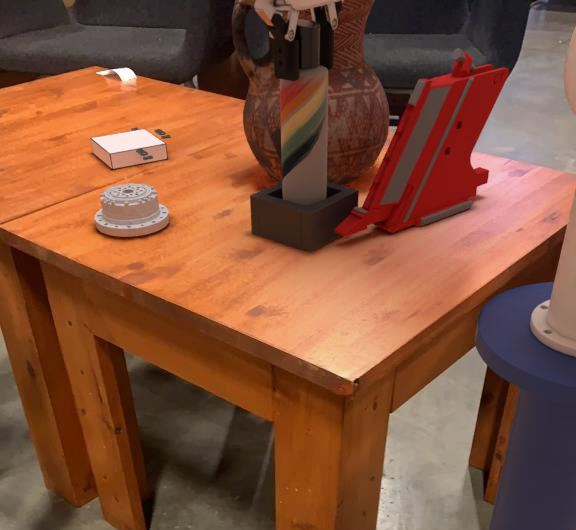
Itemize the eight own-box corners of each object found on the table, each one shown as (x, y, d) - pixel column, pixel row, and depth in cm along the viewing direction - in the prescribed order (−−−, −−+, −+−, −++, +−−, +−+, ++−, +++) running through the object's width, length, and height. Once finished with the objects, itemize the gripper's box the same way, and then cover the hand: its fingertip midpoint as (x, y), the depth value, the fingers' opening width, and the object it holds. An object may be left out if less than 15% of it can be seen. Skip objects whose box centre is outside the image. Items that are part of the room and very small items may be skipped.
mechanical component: (81, 226, 104) (129, 245, 99) (74, 193, 101) (123, 211, 96) (136, 205, 110) (185, 222, 105) (132, 173, 107) (181, 188, 102)
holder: (357, 228, 102) (359, 189, 99) (310, 253, 96) (310, 213, 93) (299, 210, 107) (299, 173, 103) (251, 233, 101) (249, 195, 98)
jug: (330, 144, 128) (333, -38, 112) (416, 178, 116) (434, -22, 99) (218, 173, 119) (203, -21, 102) (298, 213, 106) (295, -1, 89)
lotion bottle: (291, 191, 102) (288, 14, 88) (332, 195, 100) (335, 16, 87) (276, 206, 98) (271, 23, 84) (318, 211, 96) (320, 26, 83)
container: (82, 144, 131) (79, 127, 129) (145, 133, 135) (143, 117, 133) (123, 180, 118) (121, 161, 116) (192, 166, 122) (190, 148, 120)
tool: (358, 244, 95) (444, 19, 84) (328, 229, 97) (408, 10, 87) (458, 269, 112) (540, 87, 102) (430, 256, 115) (507, 77, 105)
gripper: (276, -124, 70) (281, 94, 82) (383, -133, 80) (373, 63, 92) (217, -125, 74) (230, 84, 86) (326, -134, 84) (324, 55, 96)
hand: (304, 71), depth 89 cm, fingers closed on lotion bottle, 5 cm apart
